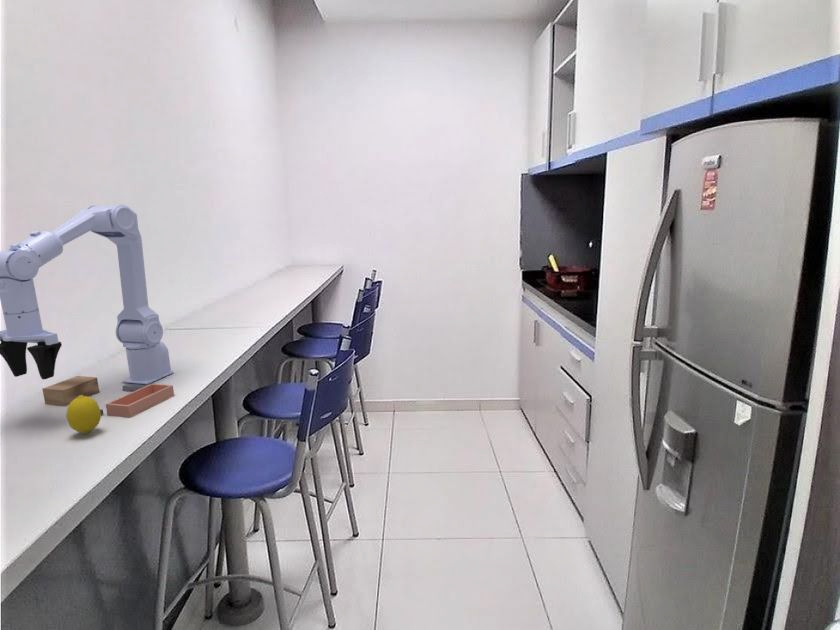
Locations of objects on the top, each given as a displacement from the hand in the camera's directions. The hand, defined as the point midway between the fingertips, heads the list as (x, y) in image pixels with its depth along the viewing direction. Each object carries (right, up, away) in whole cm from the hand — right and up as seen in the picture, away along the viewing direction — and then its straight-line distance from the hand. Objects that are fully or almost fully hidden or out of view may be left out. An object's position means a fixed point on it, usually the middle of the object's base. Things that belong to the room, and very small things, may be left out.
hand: (34, 376), depth 107 cm
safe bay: (+9, -7, +13) cm, 17 cm away
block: (-3, -7, +16) cm, 18 cm away
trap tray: (+17, -8, +10) cm, 21 cm away
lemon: (+13, -11, -4) cm, 18 cm away
